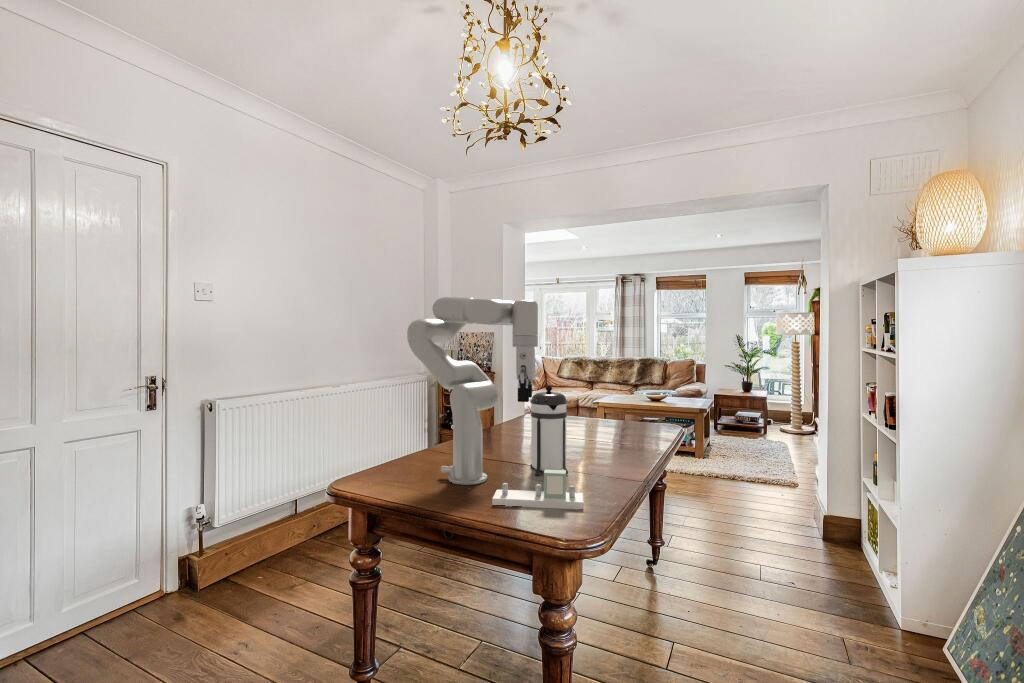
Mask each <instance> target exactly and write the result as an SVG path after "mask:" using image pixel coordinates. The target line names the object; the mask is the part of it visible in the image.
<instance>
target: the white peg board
mask: <svg viewBox="0 0 1024 683" xmlns="http://www.w3.org/2000/svg"><path fill="white" fill-rule="evenodd" d="M501 485H502V486H501V489H496V491H494V492H495V493H494V495H492V502H491V503H492V505H505V506H504V507H512V506H522V507H521V508H535V509H536V508H541V509H558V510H559V509H561V510H579V509H583V510H584V493H583V492H576V485H569V486H568V488H569V489H568V491H569V492H567V491H566V499H560V498H544V490H543V491H542V484H539V483H537V484H535V490H520V489H519V490H517V489H509V483H508V482H504V483H501Z"/></svg>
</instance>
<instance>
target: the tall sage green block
mask: <svg viewBox="0 0 1024 683" xmlns="http://www.w3.org/2000/svg"><path fill="white" fill-rule="evenodd" d="M543 491H544V498H560V499H566V492H567V475H566V470H564V469H562V470H545V471H543Z"/></svg>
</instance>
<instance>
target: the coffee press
mask: <svg viewBox="0 0 1024 683" xmlns="http://www.w3.org/2000/svg"><path fill="white" fill-rule="evenodd" d="M552 390H553V387H552V385H550V384H548V385H546V386H545V391H542V392H541V391H540V392H537V393H535V394H532V397H531V399H529V402H530V404H531V406H530V407H531V410H530V417H531V418H530V420H531V422H530V424H531V425H530V426H531V437H530V438H531V439H530V440H531V442H530V444H531V455H530V456H531V463H530V465H529V467H530V469H531V468H534V469H535V472H534V475H535V477H541V475H542V473H544V471H545V470H566V476H567V475H568V474H569V471H568V469H567V467H566V466H567V417H568V411H567V404H568V399H567V397H566V396H565V394H563V393H561V392H557V391H556V392H555V391H552Z"/></svg>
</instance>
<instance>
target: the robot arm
mask: <svg viewBox="0 0 1024 683" xmlns="http://www.w3.org/2000/svg"><path fill="white" fill-rule="evenodd" d="M431 308H432V313H433V315H434V317H435V318H420V319H416V320H414V321H412V322H410V324H409V325H408V327H407V333H406V338H407V343H408V345H409V348H410V351H411V352H412V354H413V355H414V356H415V357H416V358H417V359H418V360H419V361H420V362H421V363H422V364H423V365H424V366H425V368H426V369H427V370H428V371H429V373H430V374H431V375H432V376H433V378H435V380H436V382H438V384H439V385H440V386H441V387H442V388H443V389H445V390H451V392H450V395H449V403H450V408H451V413H452V415H451V416H452V432H453V433H452V434H453V435H452V437H453V438H452V440H453V441H452V442H453V443H452V445H453V446H452V447H453V450H452V458H453V459H452V465H450V466H447V465H441V467H440V472H441V473H442V474H449V475H448V481H449V482H450V483H451V482H452V484H455V485H459V484H460V486H462V485H463V486H471V485H479V484H482V483H484V482H486V481H487V480H488V475H487V474H486V473H485V472H483V423H482V419H481V417H480V414H479V411H484V410H488V409H492V408H493V407H495V406H496V405H497V403H498V401H499V392H498V388H497V386H496V385H495V384H494V382H493V381H492V380H491V379H490V378H489V377H488V375H487V374H486V373H485V372H484V371H483V370H482V368H480V367H479V365H478V364H476V363H475V362H474V361H471V360H455V359H453V358H452V357H451V356H450V355H449V354H448V352H446V350H445V349H444V348H442V346H441V347H440V346H439V345H438V344H437V343H448V342H450V341H452V340H453V339H454V338H455V337H456V336H457V335H458V334H459V332H461V331H462V329H463V328H464V327H465V326H466V325H468V324H469V325H473V324H477V325H488V326H489V325H490V326H493V325H494V326H496V325H498V326H512V348H515V350H516V351H515V354H516V355H515V357H516V358H515V370H516V371H515V373H516V380H517V381H518V383H517V386H518V387H517V402H519V403H528V402H530V398H531V399H532V397H533V383H532V382H533V381H534V380H535V379H536V350H535V348H537V347H539V342H538V341H539V338H538V337H539V332H538V331H539V324H538V323H539V321H538V320H539V312H538V311H539V306H538V303H537V301H535V300H534V299H519V300H518V299H517V300H515V301H514V300H504V299H493V298H491V299H490V298H489V299H488V298H485V299H483V298H474V297H466V296H465V297H464V296H463V297H462V296H461V297H459V296H443V297H440V298H437V299H436V301H434V303H433V305H432V307H431Z"/></svg>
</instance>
